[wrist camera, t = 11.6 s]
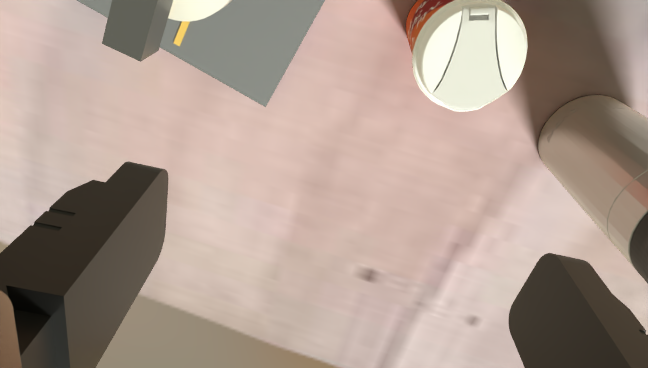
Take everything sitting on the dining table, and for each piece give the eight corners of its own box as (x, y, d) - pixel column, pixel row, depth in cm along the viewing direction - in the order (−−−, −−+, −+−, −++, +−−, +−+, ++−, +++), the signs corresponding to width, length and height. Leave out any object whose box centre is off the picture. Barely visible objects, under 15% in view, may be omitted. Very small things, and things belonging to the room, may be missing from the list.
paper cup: (395, -20, 40) (418, 0, 27) (483, -24, 39) (545, -5, 27) (392, 67, 43) (411, 119, 31) (472, 65, 43) (522, 116, 31)
